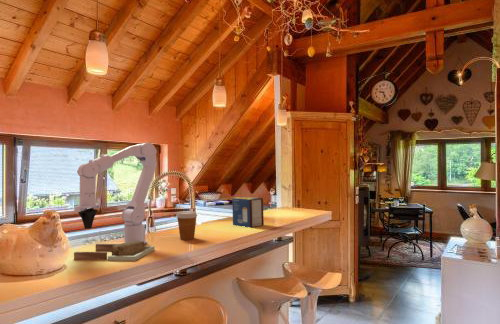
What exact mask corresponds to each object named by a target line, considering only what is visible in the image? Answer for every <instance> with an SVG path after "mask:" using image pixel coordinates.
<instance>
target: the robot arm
mask: <svg viewBox="0 0 500 324" xmlns="http://www.w3.org/2000/svg"><path fill="white" fill-rule="evenodd" d="M157 151H158V150H157V149H156V147H155V145H154V144H153V143H151V142H144V143H137V144H135V145H130V146H128V147H125V148H124V149H122V150H119V151H118V152H116V153H113V154H112V155H109V154H99V157H97V158H94V159H90V160H88V162H87V163H85V162H84V163H81V164H80V165H79V166H78V168H77V172H76V173H77V175H78V176H79V204H77V205H76V206H74V207H73V208H74V210H73V211H74V213H78V215H79V216H80V219H81V221H82V225H83V227H84V229H85V230H87V229H89V230H90V229H92V227H93V224H94V219H95V217H96V215H97V213H98V209H101V202H99V203H98V202H97V196H96V194H97V193H96V191H97V190H96V184H97V183H96V176H97V175H98V174H101V173H102V172H104V171H105V172H106V171H107V170H109V169H112V168H113V167H114V165H115V163H116V162H119V161H122V160H123V159H126V158H129V157H136V158H137V160H138V161H139V162H140V163H141V164H142V166H143V167H142V169H141V173H140V175H139V179H138V181H137V184H136V186H135V190H134V192H133V194H132V199H131V200H130V201H129V202H128V203H127V205H126V207H125V209H124V210H122V213H121V219H122V221H124V223H123V224H124V225H123V226H124V229H123V230H124V233H123V234H124V239H123V240H124V243H127V242H133V241H143V242H144V244H145V245H146V244H147V243H148V241H147V240H146V227H145V224H143V221H144V220H145V211H146V206H145V201H146V199H147V196H148V192H149V190H150V187H151V184H152V181H153V178H154V175H155V171H156V169H157V167H158V165H157V155H156V154H157V153H158V152H157Z"/></svg>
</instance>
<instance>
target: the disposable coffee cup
mask: <svg viewBox="0 0 500 324" xmlns="http://www.w3.org/2000/svg"><path fill="white" fill-rule="evenodd" d="M176 213H177V214H176V219H177V225H178V233H179V237H180V240H181V241H189V240H194V239H195V235H196V233H195V232H196V225H197V217H198V213H197V212H196V211H179V212H178V211H177V212H176Z"/></svg>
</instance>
